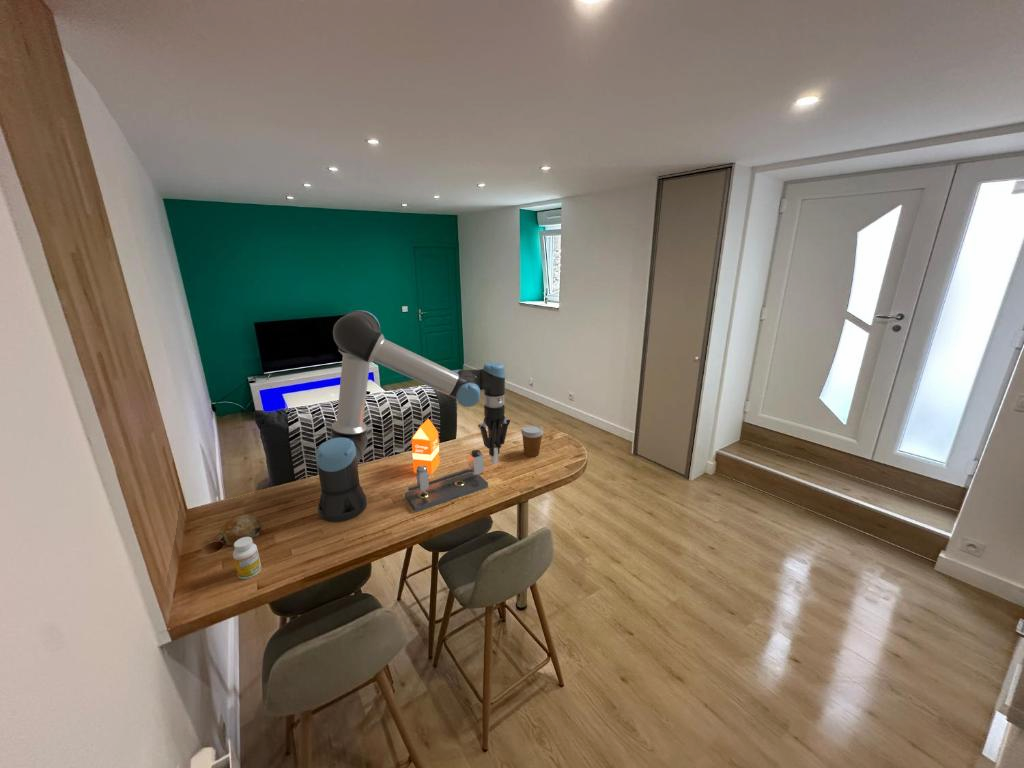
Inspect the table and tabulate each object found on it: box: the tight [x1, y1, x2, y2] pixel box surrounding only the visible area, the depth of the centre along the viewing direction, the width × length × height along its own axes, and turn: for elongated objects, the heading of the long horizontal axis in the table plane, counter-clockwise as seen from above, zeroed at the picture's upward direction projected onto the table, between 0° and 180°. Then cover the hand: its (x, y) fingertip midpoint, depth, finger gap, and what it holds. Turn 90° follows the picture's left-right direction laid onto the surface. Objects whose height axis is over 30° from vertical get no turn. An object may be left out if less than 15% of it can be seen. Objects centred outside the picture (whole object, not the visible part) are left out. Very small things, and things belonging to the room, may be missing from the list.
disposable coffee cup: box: [520, 424, 544, 458], centre depth 171 cm, size 10×10×12 cm
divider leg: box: [468, 449, 485, 476], centre depth 147 cm, size 4×4×10 cm
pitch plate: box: [404, 465, 489, 513], centre depth 141 cm, size 28×10×13 cm, turn 124°
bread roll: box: [218, 514, 262, 546], centre depth 119 cm, size 10×10×8 cm
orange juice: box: [411, 418, 440, 475], centre depth 157 cm, size 8×9×20 cm
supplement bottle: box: [232, 537, 262, 580], centre depth 105 cm, size 5×5×10 cm
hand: (494, 462), depth 152 cm, fingers closed
